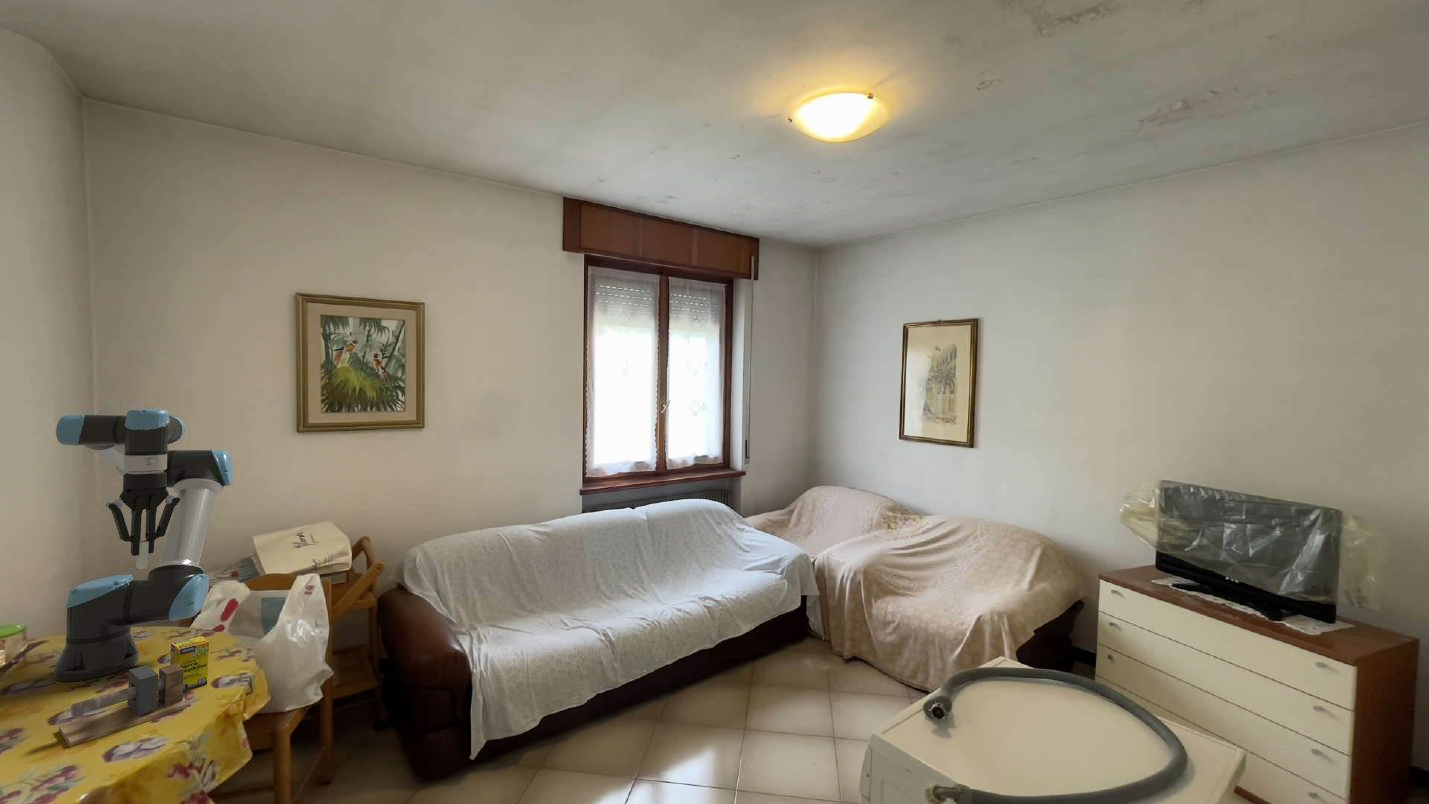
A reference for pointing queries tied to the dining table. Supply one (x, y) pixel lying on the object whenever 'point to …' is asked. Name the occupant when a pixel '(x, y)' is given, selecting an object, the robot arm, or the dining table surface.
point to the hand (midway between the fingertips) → (141, 567)
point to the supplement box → (191, 661)
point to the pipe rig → (124, 709)
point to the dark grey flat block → (143, 689)
